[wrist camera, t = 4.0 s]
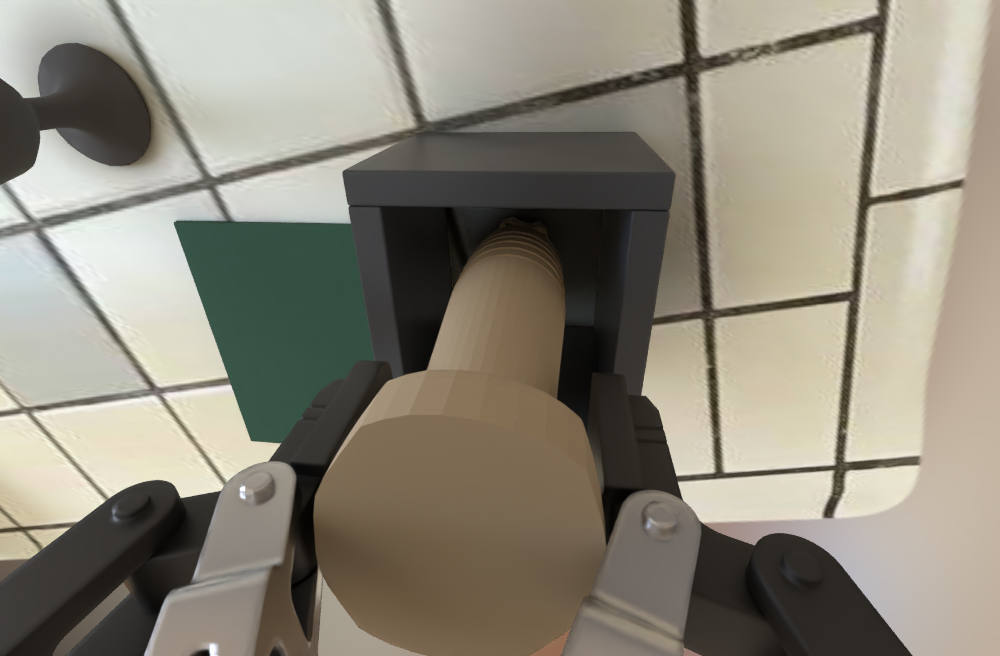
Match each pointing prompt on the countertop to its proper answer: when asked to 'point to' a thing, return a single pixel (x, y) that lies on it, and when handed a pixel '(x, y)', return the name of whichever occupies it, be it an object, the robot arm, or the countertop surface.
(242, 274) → the mat
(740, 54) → the countertop surface
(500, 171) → the grey box
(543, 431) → the handle
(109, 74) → the sundae
